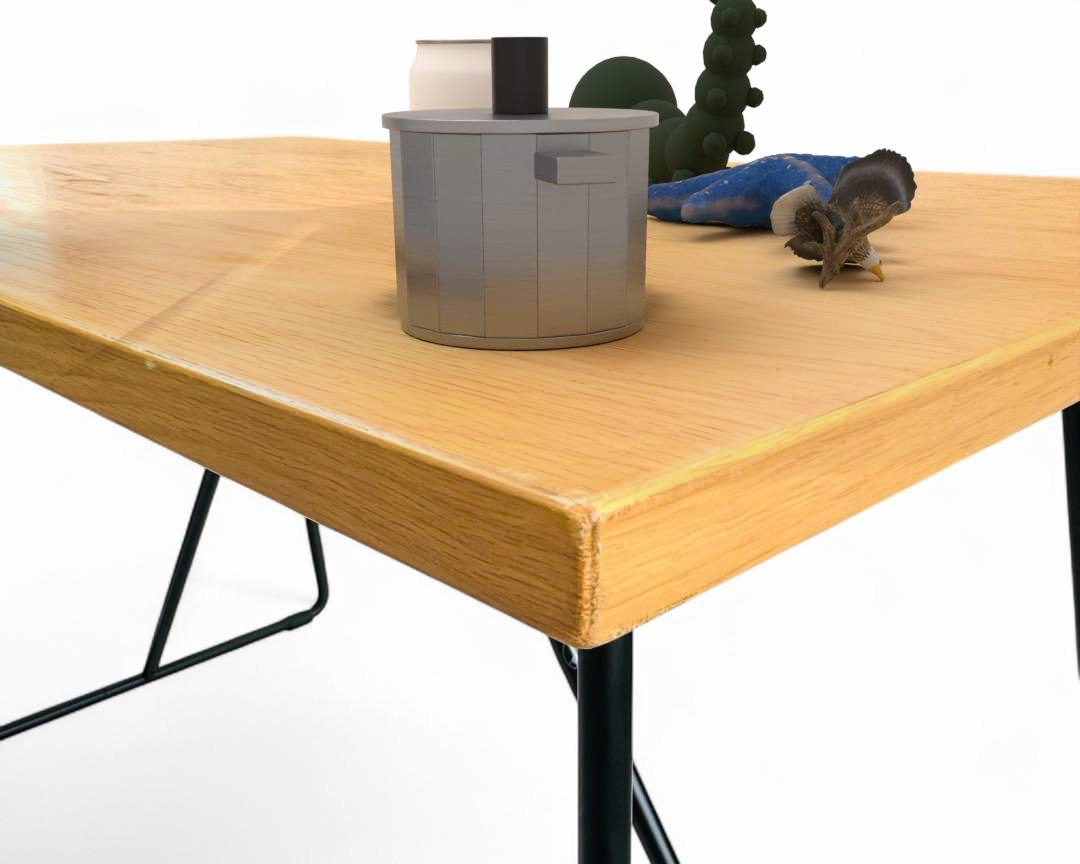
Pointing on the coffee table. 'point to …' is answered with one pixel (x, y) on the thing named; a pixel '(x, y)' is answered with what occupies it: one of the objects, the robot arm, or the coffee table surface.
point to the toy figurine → (719, 97)
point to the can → (451, 75)
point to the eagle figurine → (846, 213)
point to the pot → (520, 237)
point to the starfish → (745, 189)
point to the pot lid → (519, 102)
